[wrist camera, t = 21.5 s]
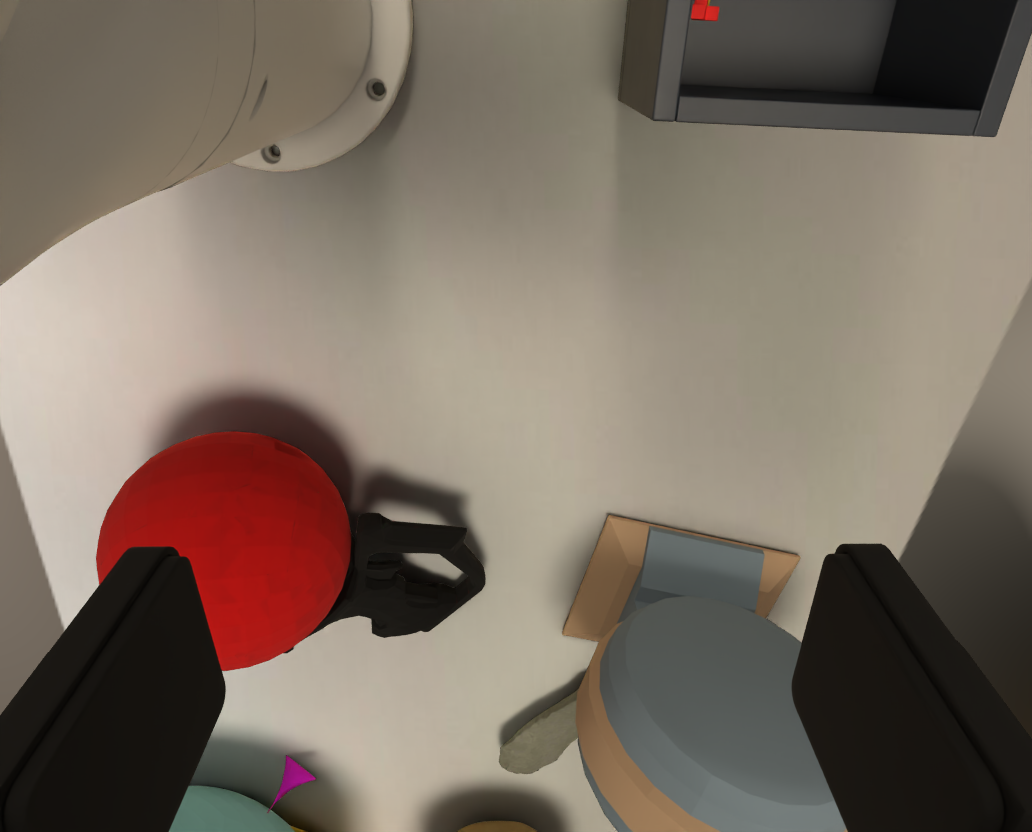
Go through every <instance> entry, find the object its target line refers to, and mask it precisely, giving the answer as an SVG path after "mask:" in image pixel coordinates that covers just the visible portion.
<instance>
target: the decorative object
mask: <svg viewBox="0 0 1032 832" xmlns="http://www.w3.org/2000/svg"><path fill="white" fill-rule="evenodd" d="M466 532H467V528H465V527H457V526H446V525H434V524H421V523H408V522H396V521H391V520H389V519H387V518H385V517H384V516H382V515H381V514H379V513H364V514H361V515H360V516H359V517H358V524H357V533H356V542H355V539H354V537H353V535H352V533H351V531H350V525H349V519H348V515H347V512H346V509H345V506H344V504H343V501H342V499H341V496H340V494H339V491H338V490H337V488H336V487H335V486H334V484H333V483H332V481H331V480H330V479H329V477H328V476H327V474H326V473H325V472H324V470H323V469H322V468H321V467H320V466H319V465H318V464H317V463H316V462H315V461H313V460H312V459H311V458H310V457H309V456H308V455H307V454H305V453H303V452H302V451H300V450H299V449H298V448H296V447H294V446H292V445H290V444H287V443H285V442H283V441H280V440H278V439H275V438H273V437H269V436H265V435H261V434H256V433H248V432H237V431H231V432H215V433H210V434H206V435H201V436H196V437H193V438H190V439H188V440H185V441H182V442H180V443H177V444H175V445H173V446H171V447H169V448H167V449H165V450H163V451H161V452H160V453H158V454H156V455H155V456H153V457H152V458H150V459H149V460H148V461H147V462H146V463H145V464H144V465H142V466H141V467H140V468H139V469H138V470H137V471H136V472H135V473H134V474H133V475H132V476H131V477H130V478H129V479H128V480H127V481H126V482H125V483H124V485H123V486H122V488H121V489H120V491H119V492H118V494H117V495H116V497H115V499H114V500H113V502H112V504H111V505H110V507H109V509H108V510H107V513H106V515H105V518H104V521H103V523H102V526H101V530H100V535H99V540H98V548H97V555H96V562H97V571H98V578H99V585H100V584H101V582H102V581H103V580H104V578H105V577H106V576H107V574H108V573H109V572H110V570H111V569H112V568H113V566H114V565H115V564H116V563H117V561H118V560H119V559H120V557H121V556H122V555H123V553H124V552H125V551H126V550H127V549H128V548H131V547H138V546H170V547H174V548H175V549H176V550H177V551H178V553H179V555H180V556H184V557H187V558H188V559H189V560H190V563H191V565H192V569H193V572H194V576H195V579H196V583H197V586H198V590H199V593H200V597H201V600H202V604H203V607H204V611H205V614H206V618H207V621H208V625H209V628H210V632H211V635H212V639H213V642H214V646H215V649H216V653H217V656H218V660H219V663H220V667H221V670H222V671H228V670H234V669H240V668H246V667H251V666H253V665H256V664H259V663H262V662H265V661H268V660H271V659H272V658H274V657H276V656H278V655H280V654H282V653H288V652H290V651H291V650H293V648H294V646H295V645H296V644H298V643H299V642H300V641H302V640H303V639H305V638H307V637H308V636H310V635H312V634H314V633H316V632H317V631H319V630H321V629H323V628H324V627H326V626H327V625H328V624H330V623H333V622H335V621H338V620H340V619H344V618H349V617H354V616H363V617H368V618H370V619H371V620H372V633H373V634H375V635H377V636H380V637H384V638H386V637H391V636H401V635H408V634H412V633H416V632H419V631H423V632H429V631H430V630H431V629H433V628H434V627H435V626H437V625H438V624H439V623H440V622H442V621H443V620H444V619H446V618H447V617H448V616H449V615H451V614H452V613H453V612H455V611H456V610H457V609H458V608H460V607H461V606H462V605H464V604H465V603H466V602H467V601H469V600H470V599H471V598H473V597H474V596H475V595H476V594H478V593H479V592H480V591H481V590H482V589H483V587H484V585H485V572H484V567H483V565H482V564H481V562H480V561H479V560H478V559H477V557H476V556H475V555H474V554H473V553H472V552H471V550H470V549H469V548H468V547H467V546H466V544H465V543H464V539H465V536H466ZM382 552H388V553H431V554H440V555H441V556H442V557H444V558H445V559H447V560H448V561H449V562H451V563H452V564H453V565H455V566H456V567H457V568H459V569H460V570H461V571H463V572H464V573H465V574H466V575H467V576H468V578H467V579H465V580H464V581H463V582H462V583H460V584H459V585H458V586H456V587H455V588H453V587H451V586H448V585H446V584H441V583H428V584H415V583H410V582H406V581H405V580H404V577H402V576H400V575H398V574H396V573H395V572H396V570H401V568H402V562H401V561H400V560H395V561H383V562H374V561H368V558H369V556H370V555H372V554H375V553H382Z"/></svg>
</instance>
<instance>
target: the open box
mask: <svg viewBox="0 0 1032 832" xmlns="http://www.w3.org/2000/svg"><path fill="white" fill-rule="evenodd" d="M694 3H695V0H628V7H627V17H626V27H625V36H624V46H623V56H622V65H621V75H620V85H619V94H618V100H619V101H621V102H622V103H624V104H626V105H627V106H629V107H631V108H633V109H634V110H636V111H638V112H639V113H641V114H643V115H645V116H646V117H648V118H650V119H651V120H653V121H668V122H673V121H676V122H687V123H708V124H729V125H750V126H772V127H793V128H814V129H835V130H856V131H877V132H898V133H919V134H940V135H961V136H982V137H995V136H996V135H997V132H998V129H999V126H1000V123H1001V120H1002V117H1003V114H1004V112H1005V109H1006V106H1007V103H1008V100H1009V97H1010V94H1011V91H1012V88H1013V85H1014V83H1015V80H1016V77H1017V74H1018V71H1019V68H1020V65H1021V62H1022V59H1023V56H1024V54H1025V51H1026V48H1027V45H1028V42H1029V39H1030V36H1031V33H1032V0H710V4H709V6H718V7H720V8H719V14H718V21H702V20H692V19H691V14H692V7H693V4H694Z"/></svg>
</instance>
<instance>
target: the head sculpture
mask: <svg viewBox="0 0 1032 832" xmlns="http://www.w3.org/2000/svg"><path fill="white" fill-rule="evenodd" d="M457 832H537V831H536V830H535V829H533V828H532V827H530V826H528V825H526V824H523V823H520V822H515V821H486V822H478V823H474V824H471V825H468V826H466V827H463V828H462V829H460V830H458V831H457Z"/></svg>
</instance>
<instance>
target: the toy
mask: <svg viewBox="0 0 1032 832" xmlns="http://www.w3.org/2000/svg"><path fill="white" fill-rule="evenodd" d="M315 779H316V778H315V777H314V776H313V775H311V774H310V773H309V772H308V771H306V770H305V769H304V768H303V767H301V766H300V765H299V764H298V763H296V762H295V761H294V760H292V759H291V758H290V757H288V756H287V755H286V765H285V771H284V776H283V781H282V784H281V787H280V790H279V792H278V794H277V797H276V799H275V801H274V803H273V805H274V804H275V803H276V802H277V801H278V800H279V799H281V798H282V797H283V796H284V795H285V794H286V793H288V792H289V791H290V790H292V789H293V788H295V787H297V786H299V785H301V784H303V783H306V782H309V781H312V780H315ZM273 805H272V806H271V808H272V807H273ZM271 808H270V809H271ZM270 809H269V808H267V807H265V806H264V805H262V804H261V803H259V802H257V801H255V800H253V799H251V798H248V797H246V796H244V795H241V794H239V793H237V792H233V791H229V790H226V789H221V788H216V787H208V786H188V789H187V791H186V793H185V796H184V798H183V800H182V802H181V805H180V807H179V809H178V812H177V814H176V816H175V819H174V821H173V823H172V826H171V828H170V830H169V832H307V831H304V830H301V829H298V828H295V827H292V826H289V824H288V823H287V822H285V821H284V820H283V819H282V818H281V817H279V816H278V815H277V814H276V813H274V812H273V811H271V810H270Z"/></svg>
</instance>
